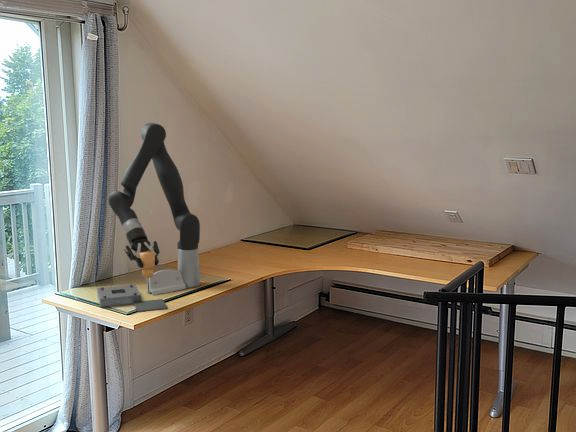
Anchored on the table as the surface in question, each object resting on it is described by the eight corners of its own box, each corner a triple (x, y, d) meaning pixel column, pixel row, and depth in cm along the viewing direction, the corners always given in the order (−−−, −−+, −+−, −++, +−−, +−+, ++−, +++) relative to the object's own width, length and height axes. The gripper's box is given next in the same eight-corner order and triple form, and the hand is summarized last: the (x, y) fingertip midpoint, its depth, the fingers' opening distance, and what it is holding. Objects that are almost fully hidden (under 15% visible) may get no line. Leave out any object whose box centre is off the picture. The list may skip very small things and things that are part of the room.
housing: (135, 292, 265) (135, 283, 264) (140, 303, 250) (140, 293, 249) (97, 295, 259) (96, 286, 258) (100, 307, 244) (100, 297, 244)
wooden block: (154, 273, 249) (153, 250, 247) (156, 277, 243) (155, 253, 241) (139, 275, 247) (138, 251, 245) (141, 279, 241) (140, 254, 239)
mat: (162, 300, 254) (162, 298, 254) (167, 308, 243) (167, 307, 243) (133, 303, 250) (133, 302, 250) (137, 312, 239) (137, 310, 239)
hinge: (151, 295, 260) (147, 272, 261) (147, 296, 264) (143, 273, 265) (186, 288, 270) (182, 266, 271) (182, 289, 274) (178, 267, 275)
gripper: (120, 229, 242) (136, 263, 236) (153, 224, 252) (168, 257, 245) (115, 239, 247) (130, 274, 241) (147, 235, 257) (162, 267, 250)
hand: (149, 265), depth 243 cm, fingers closed on wooden block, 6 cm apart
